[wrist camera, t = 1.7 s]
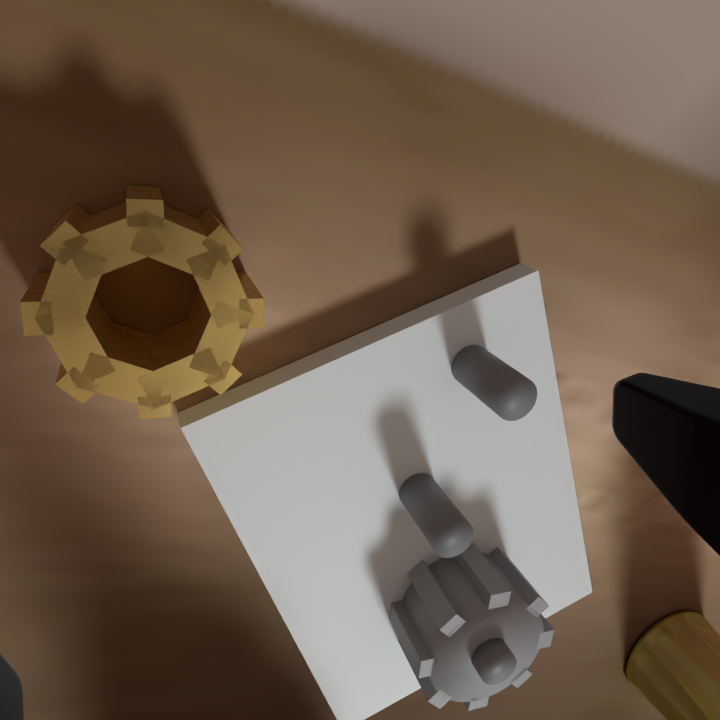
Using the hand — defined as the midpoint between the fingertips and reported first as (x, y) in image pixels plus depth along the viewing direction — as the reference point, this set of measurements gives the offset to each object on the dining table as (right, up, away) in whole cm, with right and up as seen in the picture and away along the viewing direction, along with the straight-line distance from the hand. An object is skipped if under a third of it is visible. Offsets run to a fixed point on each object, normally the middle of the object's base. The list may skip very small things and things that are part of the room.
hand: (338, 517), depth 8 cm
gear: (-6, +5, +11) cm, 14 cm away
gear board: (+3, -4, +18) cm, 19 cm away
